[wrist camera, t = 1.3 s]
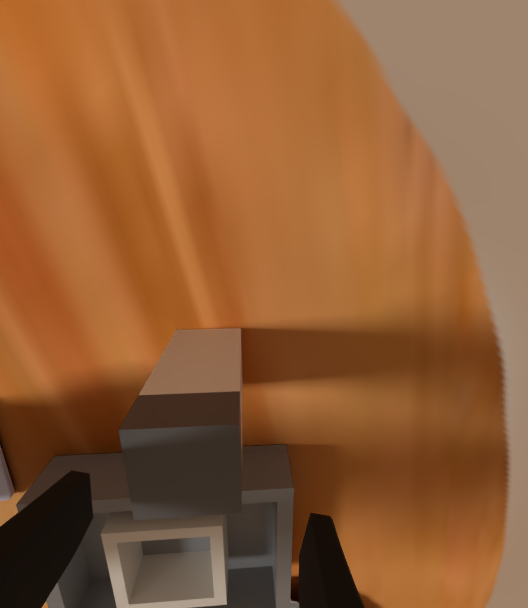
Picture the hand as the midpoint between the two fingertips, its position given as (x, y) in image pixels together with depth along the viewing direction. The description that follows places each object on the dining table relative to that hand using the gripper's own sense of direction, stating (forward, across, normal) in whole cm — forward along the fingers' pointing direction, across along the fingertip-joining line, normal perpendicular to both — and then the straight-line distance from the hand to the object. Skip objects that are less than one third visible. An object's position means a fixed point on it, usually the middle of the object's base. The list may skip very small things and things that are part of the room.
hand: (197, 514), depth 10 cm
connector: (+10, +2, 0) cm, 10 cm away
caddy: (+9, +3, +14) cm, 17 cm away
